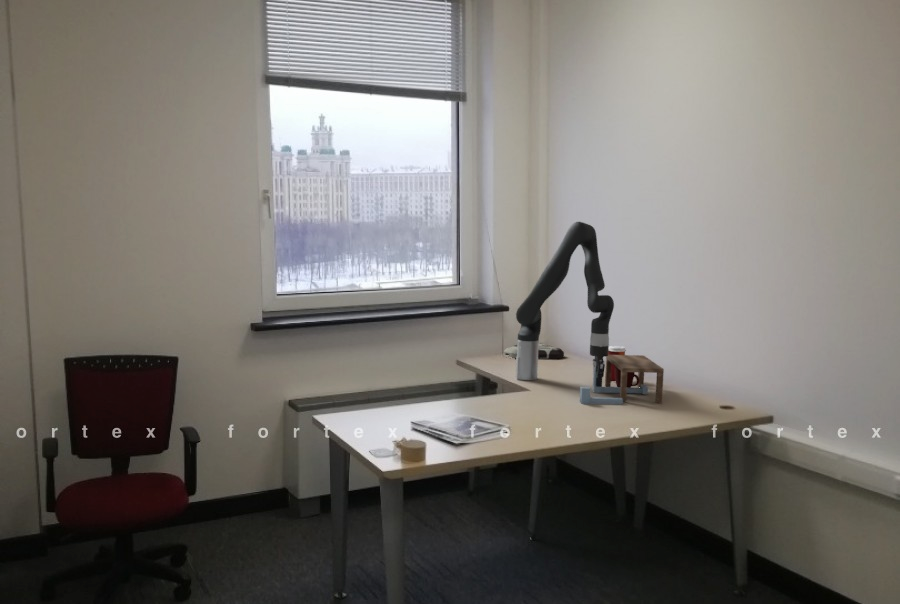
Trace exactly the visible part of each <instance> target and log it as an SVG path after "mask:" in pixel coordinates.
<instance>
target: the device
mask: <svg viewBox="0 0 900 604" xmlns="http://www.w3.org/2000/svg"><path fill="white" fill-rule="evenodd" d="M504 355H509V356H508V357H512V358H516V356H517V344H515V345H512V346H509V347H506V348H505V349H504V350H503V356H504ZM563 356H564V357H565V352H564V351H563V350H562V349H561V348H559V347H555V346H552V345H548V344H544V343H541V342H539V346H538V360H559V359H558V358H560V359H562V358H561V357H563ZM564 357H563V358H564Z"/></svg>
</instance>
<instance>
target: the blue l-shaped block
mask: <svg viewBox="0 0 900 604" xmlns="http://www.w3.org/2000/svg"><path fill="white" fill-rule="evenodd" d="M579 388H580V391H579V392H580V393H579V403H580V404H581V405H583V404H584V405H591V404H592V405H593V404H594V405H595V404H597V405H623V404H624V402H623V399H622V398H620V397H597V396H596V397H592V396H591V388H590V387H589V386H580V387H579Z"/></svg>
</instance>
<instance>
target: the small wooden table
mask: <svg viewBox="0 0 900 604" xmlns="http://www.w3.org/2000/svg"><path fill="white" fill-rule="evenodd" d="M612 364H614V365H615V366H616V367H617V368H618V369H619V370H621V383H620V393H619V398H622V399H623V403H627V393H626V391H627V372H635V373H637V376H638V377H639V384H638V385H637V388H639V387H640V385H645V379H644V378H645V373H650V374H651V373H656V382H655V383H656V384H655V399H654V401H655V403H656V404H662V403H663V389H664V387H663V386H664V373H665V372H664V371H665V369H664V368H663V367H661V366H660V365H658V363H655V362H654V360H653V361H652V360H651V359H649V358H648V357H647V356H646V355H638V354H637V355H635V354H633V355H630V354H628V355H627V354H625V355H608V356H606V357H605V370H604V374H605V375H604V387H612V386H611V385H612V384H611V383H612V381H611V365H612Z"/></svg>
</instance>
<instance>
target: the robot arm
mask: <svg viewBox="0 0 900 604" xmlns="http://www.w3.org/2000/svg"><path fill="white" fill-rule="evenodd" d="M597 239H598V238H597V232H596V230H595V227H593V226H592V225H591V224H589V223H585V222H582V221H576V222H574V223H572V224H571V225H570V226H569V228H568V229H567V231H566V233H565V235H564V237H563V239H562V241H561V243H560V244H559V246H558V248H557V250H556V251H555V253H554V254H553V256H552V257H551V259H550V260H549V262H548V264H547V265H546V266H545V268H544V270H543V271H542V273H541V274H540V276H539V278H538V280H537V281H536V283H535V284H534V287H533V288H532V290H530V293H529V294H528V295H527V297H526V298H525V299H524V300H523V301H522V302H521V304H520V305H519V307H517V309H516V313H515V318H516V321H517V322H518V323H519V324H520V330H519V331H518V333H517V344H516V345H517V356H516V359H515V360H516V362H515V377H516V380H519V381H537V380H538V376H539V375H538V374H539V373H538V370H539V369H538V367H539V366H538V365H539V359H538V346H539V343H540V342H539V341H540V340H539V339H540V334H541V329H542V310H541V308H542V306H543V305H544V303H545V302H546V301H547V300H548V299H549V298H550V296H552V295H553V294H554V293H555V292H556V291H557V289H559V288H560V286H561V285H562V283H563V282H564V280H565V278H566V277H567V275H568V273H569V269H570V265H571V264H570V263H571V259H572V256H573V254H574V252H575V251H576V249H577V248H578V246H581V249H582V251H583V253H584V269H583V274H584V279H585V283H586V287H587V301H586V302H587V307H588V310H589V311H590V312H592V313H593V314H599V313H600V314H599V316H598V317H595V318H592V320H591V326H590V327H591V328H590V338H589V339H590V340H589V355H590V356H592V357H594V358H592V366H593V367H592V369H593V371H594V367H595V372H596V386H597V387H601V386H602V387H603V378H604V377H605V375H604V374H605V369H606V363H605V360H604V357H605V358H606V356H608V352H609V346H610V336H609V331H610V322H611V318H612V315H613V311H614V308H615V304H614V299H613V297H612V296H611V295H607V294H604V295H603V294H601V295H599V292H601V291H603V290H604V289H605V286H606V285H605V280H604V277H603V273H602V270H601V269H602V268H601V264H600V258H599V251H598V250H599V249H598V240H597ZM597 369H598V370H597ZM593 371H592V372H593ZM599 372H601V374H599Z"/></svg>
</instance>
